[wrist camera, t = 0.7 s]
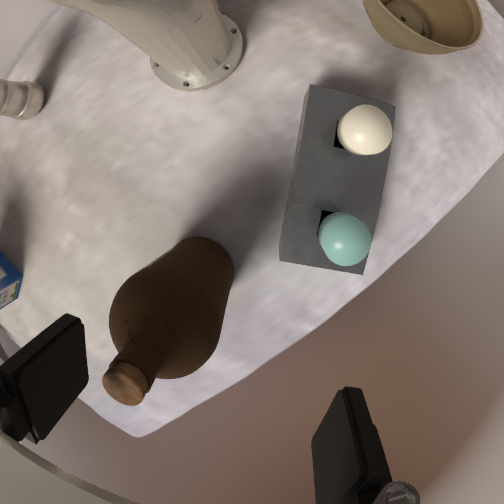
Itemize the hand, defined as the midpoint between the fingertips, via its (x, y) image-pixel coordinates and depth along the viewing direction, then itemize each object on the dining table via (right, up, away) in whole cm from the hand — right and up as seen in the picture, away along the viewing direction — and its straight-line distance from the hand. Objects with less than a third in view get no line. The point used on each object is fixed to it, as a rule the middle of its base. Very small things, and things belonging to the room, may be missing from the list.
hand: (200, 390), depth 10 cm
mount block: (+12, +14, +27) cm, 33 cm away
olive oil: (-5, +2, +32) cm, 33 cm away
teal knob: (+11, +8, +25) cm, 28 cm away
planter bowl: (+23, +37, +20) cm, 48 cm away
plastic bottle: (-34, +30, +26) cm, 53 cm away
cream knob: (+12, +18, +22) cm, 31 cm away
